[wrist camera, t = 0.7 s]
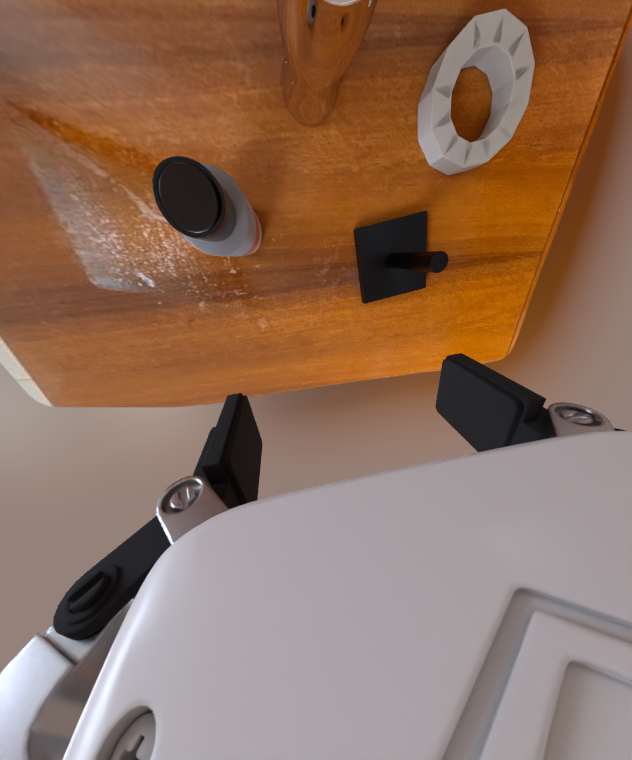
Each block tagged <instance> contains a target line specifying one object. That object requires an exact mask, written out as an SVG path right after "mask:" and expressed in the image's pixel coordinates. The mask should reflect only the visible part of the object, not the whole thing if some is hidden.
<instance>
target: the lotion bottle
mask: <svg viewBox="0 0 632 760" xmlns="http://www.w3.org/2000/svg"><path fill="white" fill-rule="evenodd" d="M152 188H153V194H154V198H155V201H156V203H157V205H158V208H159V209H160V211H161V213H162V214H163V216H164V217H165V219H166V220H167V221H168V222H169V223H170V224H171V225H172V226H173V227H174V228H175V229H176V230H177V231H179V232H180V233H181V234H182V235H183V236H184V237H185V239H186V240H187V241H188V242H189V243H190V244H192V245H193V246H194V247H195V248H197V249H199V250H200V251H202V252H204V253H207V254H210V255H215V256H248V255H251V254H253V253H254V252H255V251H256V250H257V249H258V248H259V246H260V244H261V241H262V227H261V224H260V221H259V219H258V217H257V215H256V214H255V212H254V210H253V208H252V207H251V205H250V203H249V201H248V200H247V198H246V196H245V195H244V193H243V191H242V190H241V188H240V187H239V186H238V184H237V183H236V182H235V181H234V180H233V178H232V177H230V176H229V175H228V174H227V173H226V172H224V171H223V170H221V169H219V168H217V167H215V166H212V165H208V164H200V163H199V162H197V161H195V160H193V159H190V158H187V157H181V156H175V157H170V158H167V159H165V160H163V161H162V162H161V163H160V164H159V165H158V166H157V168H156V169H155V172H154V175H153V180H152Z"/></svg>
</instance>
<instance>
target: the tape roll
mask: <svg viewBox="0 0 632 760" xmlns="http://www.w3.org/2000/svg"><path fill="white" fill-rule="evenodd" d="M471 66H475V67H477V68H478V69H480V70H481V71H482V72H484V73H485V74H487V77H488V80H489V84H490V87H491V90H492V101H491V110H490V116H489V119H488V121H487V123H486V125H485V127H484V130H483V132H482V134H481V136H480V137H479V138H478V139H477V140H476V141H474V142H468V141H466V140H465V139H463V138H461V137H460V136H458V135H457V133H456V130H455V127H454V125H453V122H452V119H451V117H450V116H451V97H452V90H453V88H454V85H455V82H456V80H457V77H458V75H459V72H460V70H461V69H463V68H467V67H471ZM534 66H535V61H534V56H533V52H532V47H531V42H530V38H529V33H528V28H527V26H526V25H524V24H523V23H522V22H521V21H520V20H518V19H517V18H516V17H515V16H514V15H512V14H511V13H510V12H509V11H508V10H507V9H501V10H497V11H492V12H488V13H484V14H480V15H476V16H474V17H473V18H472V20H471V21H470V22H469V23H468V24H467V25H466V26H465V28H464V29H463V30H462V31H461V32H460V33H459V34H458V36H457V37H456V38H455V39H454V40H453V41H452V42H451V44H450V45H449V46H448V47H447V48H446V50H445V51H444V52H443V53H442V55H441V56H440V57H439V58H438V60H437V61H436V62H435V63H434V65H433V66H432V67H431V69H430V72H429V75H428V78H427V81H426V84H425V86H424V89H423V92H422V95H421V98H420V101H419V103H418V142H419V144H420V147H421V149H422V151H423V153H424V155H425V158H426V160H427V162H428V164H429V166H431V167H433V168H435V169H437V170H439V171H441V172H442V173H444V174H446V175H452V174H456V173H460V172H464V171H467V170H471V169H473V168H475V167H477V166H479V165H482V164H484V163H486V162H488V161H489V160H490V159H491V158H492V157H493V156H494V155H495V154H496V153H497V152H498V151H499V150H500V149H501V148H502V147H503V146H504V145H505V144H506V143H507V142H508V141H510V139H511V138H512V136H513V134H514V132H515V130H516V128H517V126H518V124H519V122H520V120H521V118H522V116H523V114H524V112H525V110H526V108H527V106H528V102H529V96H530V90H531V84H532V78H533V72H534Z"/></svg>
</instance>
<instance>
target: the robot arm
mask: <svg viewBox="0 0 632 760" xmlns="http://www.w3.org/2000/svg"><path fill="white" fill-rule="evenodd" d="M545 400H546V398H544V397H542V396H540V395H538V394H536V393H534V392H533V391H531V390H529V389H527V388H525V387H523V386H521V385H519V384H518V383H516V382H514V381H512V380H510V379H508V378H506V377H505V376H503V375H501V374H499V373H497V372H495V371H494V370H492V369H490V368H488V367H486V366H484V365H482V364H481V363H479V362H477V361H475V360H473V359H471V358H469V357H468V356H466V355H464V354H461V353H460V354H454V355H449V356H447V357H446V359H444V360H443V363H442V369H441V376H440V382H439V388H438V394H437V400H436V409H437V411H438V413H439V414H440V415H441V416H442V417H443V418H445V420H446V421H447V422H448V423H449V424H450V425H451V426H452V427H454V429H455V430H457V432H458V433H459V434H461V436H463V437H464V438H465V439H466V441H468V442H469V443H470V445H472V446H473V447H474V448H475V449H476V450H477V451H478V452H477V453H472V454H467V455H462V456H458V457H453V458H448V459H443V460H438V461H433V462H428V463H424V464H419V465H414V466H409V467H404V468H400V469H395V470H390V471H385V472H381V473H376V474H371V475H367V476H362V477H357V478H353V479H348V480H343V481H338V482H334V483H329V484H325V485H320V486H315V487H311V488H307V489H302V490H298V491H294V492H289V493H285V494H280V495H276V496H272V497H268V498H264V499H261V500H257V496H258V486H259V476H260V465H261V453H262V440H261V437H260V434H259V431H258V428H257V425H256V422H255V419H254V416H253V413H252V410H251V407H250V404H249V401H248V398H247V396H246V395H245V396H243V395H242V394H241V393H239V394H233V395H228V396H227V399H226V401H225V404H224V407H223V409H222V412H221V415H220V417H219V420H218V423H217V425H216V427H213V428H212V429H211V431H210V433H209V436H208V439H207V441H206V444H205V446H204V449H203V451H202V454H201V456H200V458H199V461H198V464H197V466H196V469H195V471H194V474H193V476H188V477H185V478H182V479H180V480H178V481H176V482H175V483H173V484H172V485H171V486H170V487H168V488H167V489H166V490H165V491H164V492H163V494H162V495H161V496H160V498H159V499H158V501H157V504H156V508H155V509H156V515H157V516H156V517H154V518H153V519H152V520H151V521H149V522H148V523H147V524H146V525H145V526H143V527H142V528H141V529H140V530H139V531H137V532H136V533H135V534H133V535H132V536H131V537H130V538H128V539H127V540H126V541H125V542H123V543H122V544H121V545H120V546H118V547H117V548H116V549H115V550H113V551H112V552H111V553H110V554H109V555H107V556H106V557H105V558H104V559H102V560H101V561H100V562H99V563H97V564H96V565H95V566H94V567H92V569H90V570H89V571H87V572H86V573H85V574H84V575H83V576H82V577H81V578H80V579H79V580H77V581H76V582H75V584H74V585H73V586H72V587H71V588H70V589H69V591H68V592H67V593H66V594H65V596H64V598H63V599H62V601H61V602H60V604H59V605H58V608H57V610H56V613H55V615H54V622H53V625H52V626H51V627H50V628H49V629H48V630H47V631H46V632H45V634H44V635H41V634H38V633H37V634H36V635H35V637H34V638H33V639H32V640H31V641H30V642H29V643H28V644H27V645H26V646H25V647H24V648H23V649H22V650H21V651H20V653H19V654H18V655H17V656H16V657H15V658H14V659H13V660H12V661H11V662H10V663H9V664H8V665H7V666H6V667H5V668H4V669H3V671H2V672H1V673H0V760H632V431H625V430H620V429H616V428H613V426H612V425H611V423H610V421H609V420H608V419H607V418H606V417H605V416H603V415H602V414H601V413H599V412H597V411H595V410H593V409H591V408H588V407H585V406H582V405H577V404H572V403H554V404H551V405H550V406H549V407H548V409H545V408H544V407H543V405H544V403H545ZM152 712H153V713H152Z"/></svg>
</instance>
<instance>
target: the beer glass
mask: <svg viewBox="0 0 632 760" xmlns="http://www.w3.org/2000/svg"><path fill="white" fill-rule="evenodd" d="M377 1H378V0H276V3H277V11H278V18H279V25H280V31H281V36H282V41H283V46H284V51H285V58H284V62H283V66H282V72H281V87H282V93H283V97H284V101H285V103H286V106H287V108H288V110H289V111H290V113H291V114H292V115H293V117H294V118H295V119H296V120H298V121H299V122H300V123H302V124H305V125H309V126H313V125H317V124H320V123H321V122H323V121H324V120H325V119H326V118H327V117H328V116H329V114H330V113H331V111H332V109H333V106H334V104H335V100H336V95H337V87H338V81H339V80H340V78H341V77H342V76H343V74H344V73H345V71H346V70H347V68H348V67H349V65H350V64H351V62H352V60H353V59H354V57H355V55H356V53H357V52H358V50H359V48H360V46H361V44H362V41H363V39H364V36H365V34H366V32H367V29H368V27H369V24H370V22H371V19H372V16H373V13H374V10H375V7H376V4H377Z"/></svg>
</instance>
